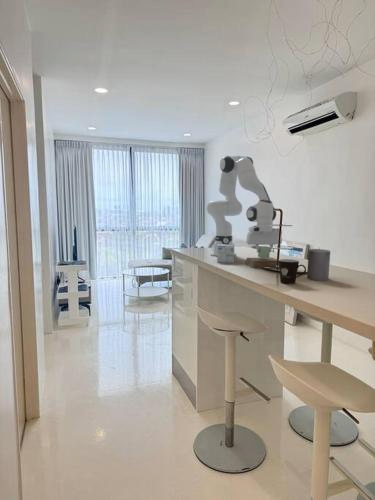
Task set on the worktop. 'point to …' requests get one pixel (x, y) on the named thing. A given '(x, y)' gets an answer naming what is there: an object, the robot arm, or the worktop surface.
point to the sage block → (264, 252)
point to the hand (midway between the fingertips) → (263, 252)
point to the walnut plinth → (261, 262)
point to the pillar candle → (318, 264)
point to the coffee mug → (289, 270)
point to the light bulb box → (225, 253)
